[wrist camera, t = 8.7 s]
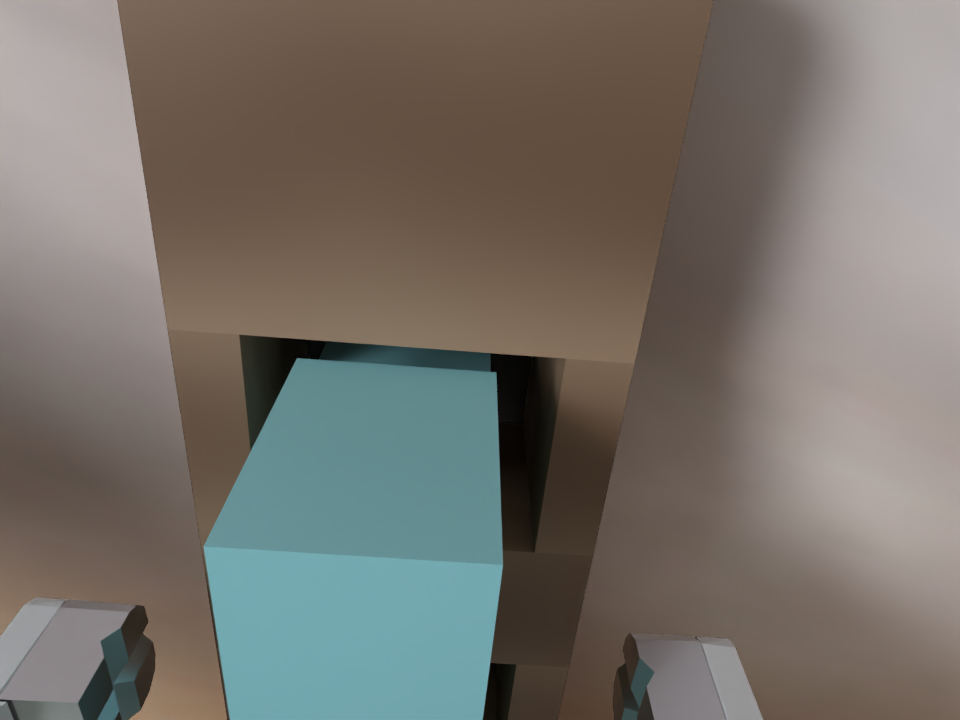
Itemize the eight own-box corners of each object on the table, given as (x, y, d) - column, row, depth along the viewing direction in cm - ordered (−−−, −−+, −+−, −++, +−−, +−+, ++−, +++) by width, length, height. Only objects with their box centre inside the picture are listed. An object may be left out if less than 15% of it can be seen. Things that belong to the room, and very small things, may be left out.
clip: (339, 272, 12) (203, 546, 6) (493, 284, 12) (502, 565, 6) (346, 636, 16) (271, 994, 10) (458, 642, 16) (445, 1000, 10)
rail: (218, -139, 9) (86, -199, 6) (658, -96, 9) (742, -132, 6) (292, 752, 19) (255, 901, 16) (509, 763, 19) (515, 913, 16)
